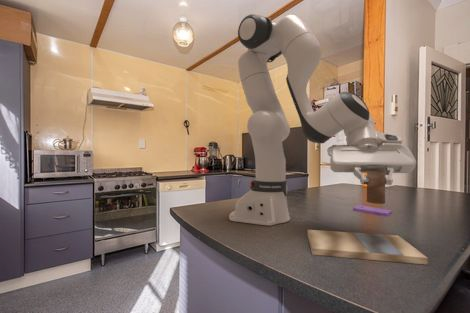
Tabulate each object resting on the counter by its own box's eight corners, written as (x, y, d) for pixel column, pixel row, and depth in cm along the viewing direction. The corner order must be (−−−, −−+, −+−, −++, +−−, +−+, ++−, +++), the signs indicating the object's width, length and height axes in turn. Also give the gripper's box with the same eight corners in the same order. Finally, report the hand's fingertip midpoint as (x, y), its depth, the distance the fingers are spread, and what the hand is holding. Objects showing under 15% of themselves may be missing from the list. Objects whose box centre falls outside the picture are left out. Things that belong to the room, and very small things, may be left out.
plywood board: (312, 254, 56) (312, 247, 56) (307, 234, 70) (307, 229, 70) (427, 264, 51) (427, 257, 51) (398, 240, 65) (398, 235, 65)
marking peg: (369, 203, 58) (370, 167, 58) (364, 200, 62) (364, 166, 62) (387, 204, 57) (388, 167, 57) (381, 200, 61) (381, 166, 61)
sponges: (358, 209, 103) (358, 204, 103) (392, 214, 94) (392, 209, 94) (352, 211, 98) (352, 207, 98) (387, 217, 89) (387, 212, 89)
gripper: (327, 137, 68) (334, 174, 59) (407, 136, 64) (428, 175, 54) (325, 152, 73) (331, 189, 63) (399, 152, 68) (417, 191, 59)
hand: (376, 183), depth 59 cm, fingers closed on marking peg, 4 cm apart
